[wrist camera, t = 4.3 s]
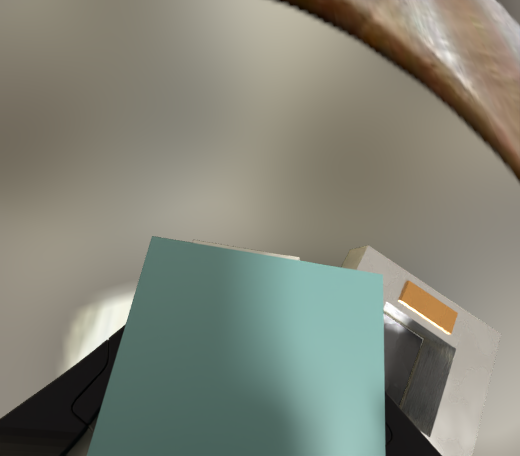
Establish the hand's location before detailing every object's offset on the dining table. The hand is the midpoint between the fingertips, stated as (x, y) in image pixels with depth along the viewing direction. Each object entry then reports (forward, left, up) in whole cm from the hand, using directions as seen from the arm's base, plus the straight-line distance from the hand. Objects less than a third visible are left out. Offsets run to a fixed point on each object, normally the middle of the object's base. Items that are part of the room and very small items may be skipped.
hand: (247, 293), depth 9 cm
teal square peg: (-1, -1, -6) cm, 6 cm away
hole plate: (+8, -12, -10) cm, 18 cm away
